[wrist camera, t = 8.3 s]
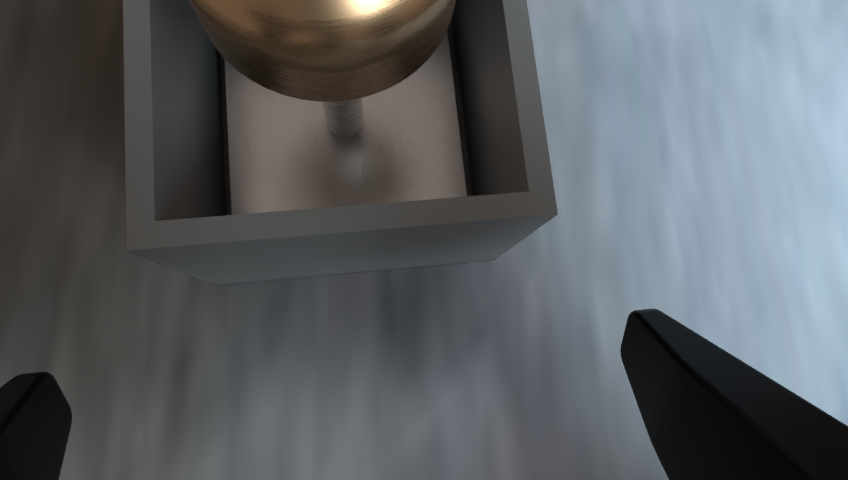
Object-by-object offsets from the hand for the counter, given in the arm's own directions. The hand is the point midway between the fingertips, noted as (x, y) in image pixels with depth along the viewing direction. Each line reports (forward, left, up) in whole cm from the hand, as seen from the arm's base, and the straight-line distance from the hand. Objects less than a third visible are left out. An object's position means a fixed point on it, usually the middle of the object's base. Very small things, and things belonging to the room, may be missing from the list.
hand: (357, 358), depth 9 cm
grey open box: (+6, +3, -7) cm, 10 cm away
